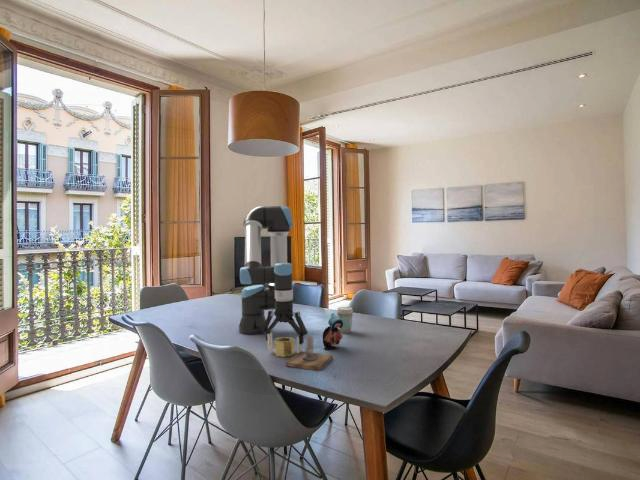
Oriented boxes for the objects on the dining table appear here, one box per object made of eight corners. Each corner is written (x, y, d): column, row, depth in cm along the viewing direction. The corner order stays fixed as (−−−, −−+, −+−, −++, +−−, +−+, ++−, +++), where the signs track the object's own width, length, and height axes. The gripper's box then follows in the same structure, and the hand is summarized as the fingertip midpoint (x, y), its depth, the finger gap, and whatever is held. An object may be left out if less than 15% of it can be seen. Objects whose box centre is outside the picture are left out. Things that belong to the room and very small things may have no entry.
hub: (271, 355, 155) (271, 341, 154) (280, 349, 162) (280, 336, 162) (289, 357, 152) (288, 343, 152) (297, 351, 159) (296, 337, 159)
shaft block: (285, 366, 142) (285, 341, 142) (300, 354, 155) (300, 332, 155) (320, 370, 137) (319, 345, 137) (332, 358, 150) (332, 335, 150)
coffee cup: (352, 334, 185) (352, 310, 185) (335, 333, 187) (335, 309, 186) (354, 329, 193) (354, 306, 193) (338, 329, 195) (337, 306, 195)
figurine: (332, 352, 158) (331, 317, 157) (319, 349, 162) (319, 314, 162) (346, 346, 165) (346, 313, 165) (334, 343, 170) (334, 311, 170)
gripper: (253, 299, 157) (253, 350, 157) (307, 302, 148) (308, 355, 148) (261, 297, 164) (262, 345, 164) (314, 299, 155) (315, 350, 156)
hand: (284, 350), depth 156 cm, fingers open, 13 cm apart
